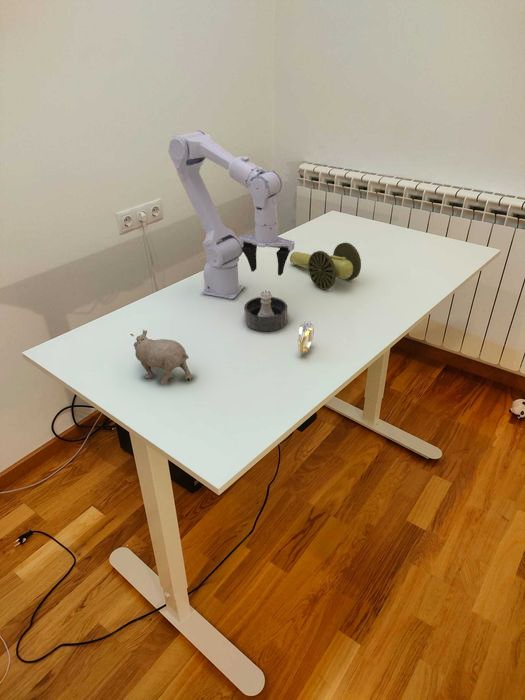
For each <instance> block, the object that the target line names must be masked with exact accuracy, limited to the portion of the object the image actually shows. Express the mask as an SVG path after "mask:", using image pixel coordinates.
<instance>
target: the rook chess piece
mask: <svg viewBox="0 0 525 700" xmlns="http://www.w3.org/2000/svg"><path fill="white" fill-rule="evenodd" d="M259 297H260V298H261V309H260V312H259V313H258V316H263V317H269V316H274V313H273V311H272V309H271V300H270V299H271V297H273V294H272V292H271V291H270V290H267V289H266V290H262V291H261V292H260V294H259Z"/></svg>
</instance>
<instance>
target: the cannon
mask: <svg viewBox="0 0 525 700" xmlns="http://www.w3.org/2000/svg"><path fill="white" fill-rule="evenodd" d="M361 260H362V259H361V255H360V253H359V251H358V250H357V248H356V247H355V246H354V245H353V244H352V243H350V242H342V243H339V244H337V245H336V247H335V248H334V250H333V254H332V255H329V253H327V252H325V251H324V250H317V251H313V253H312V254H310V253H305V252H301V251H293V252H292V253H291V254H290V256H289V261H290V263H291V265H293V266H297V267H301V268H305V269H308V273H309V277H310V280H311V281H312V283H313V284H314V285H315V286H316V287H317V288H318V289H320V290H323V291H325V290H329V289H331V288H332V287H333V286H334V285H335V282H336V280H337V279H340V280H345V281H352V280H354V279H356V278H357V277H358V276H359V275H360V272H361V269H362V261H361Z"/></svg>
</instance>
